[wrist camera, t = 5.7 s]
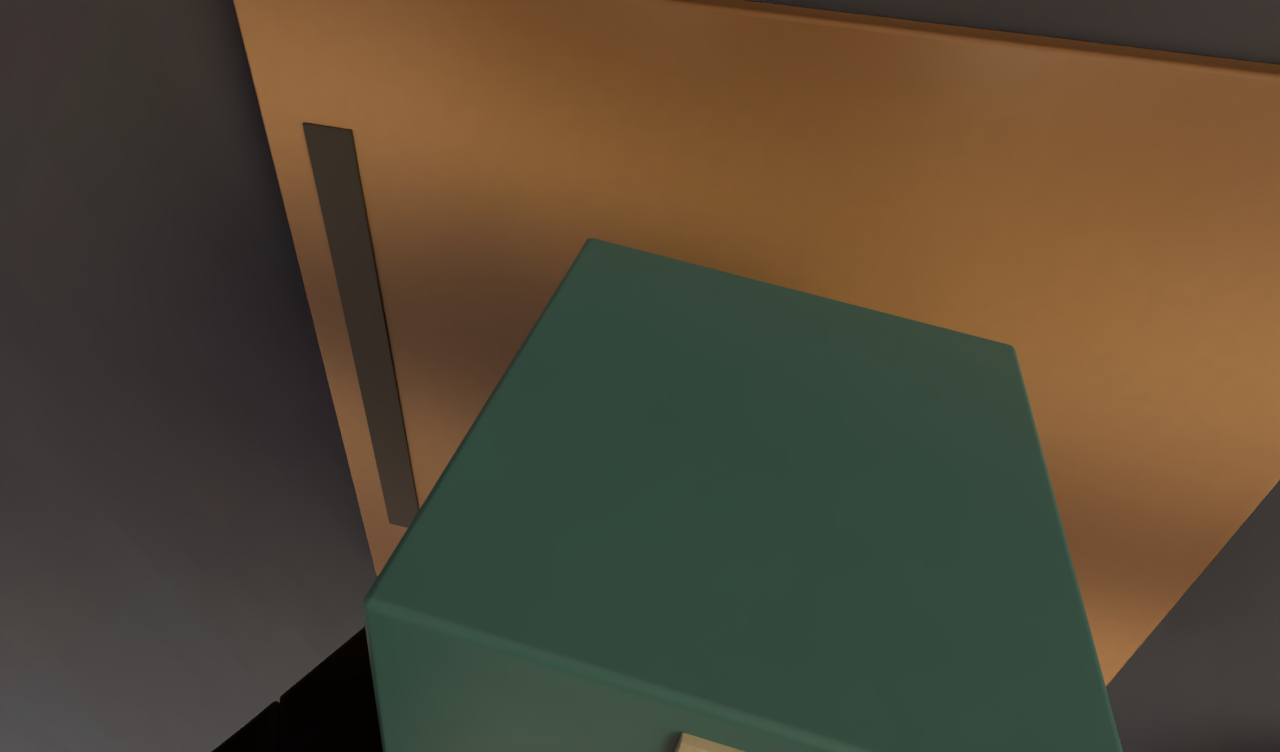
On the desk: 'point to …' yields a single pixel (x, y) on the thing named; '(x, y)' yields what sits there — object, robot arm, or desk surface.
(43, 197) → the desk surface
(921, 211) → the wooden cutting board
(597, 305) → the green parcel
